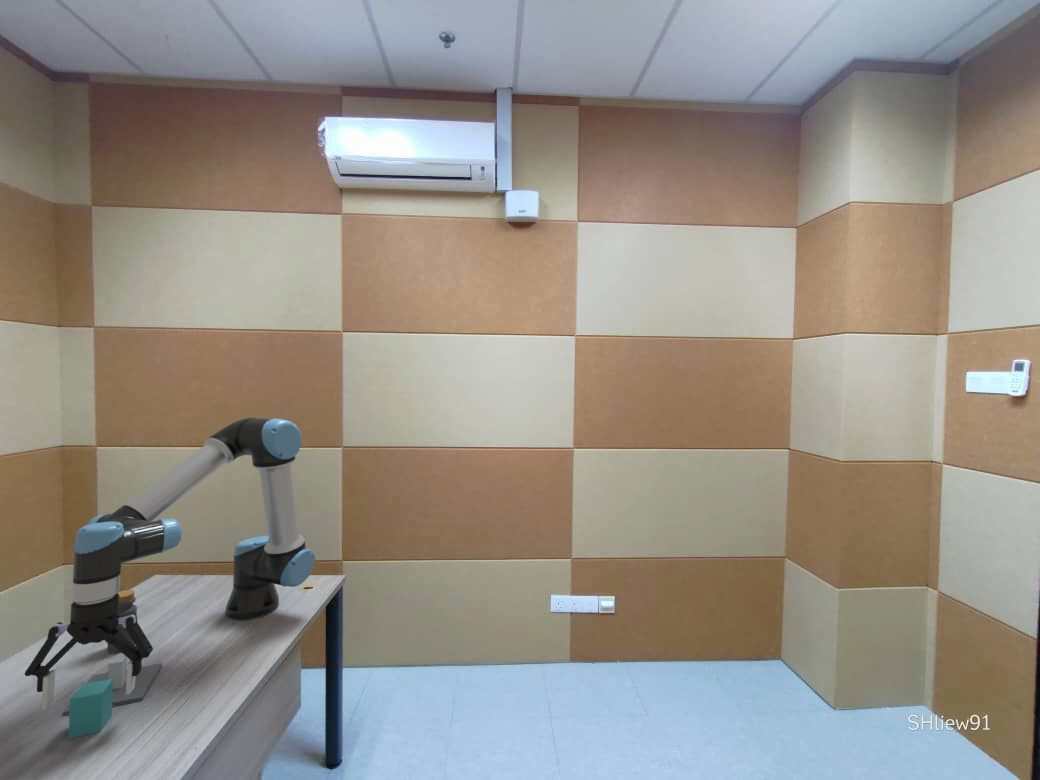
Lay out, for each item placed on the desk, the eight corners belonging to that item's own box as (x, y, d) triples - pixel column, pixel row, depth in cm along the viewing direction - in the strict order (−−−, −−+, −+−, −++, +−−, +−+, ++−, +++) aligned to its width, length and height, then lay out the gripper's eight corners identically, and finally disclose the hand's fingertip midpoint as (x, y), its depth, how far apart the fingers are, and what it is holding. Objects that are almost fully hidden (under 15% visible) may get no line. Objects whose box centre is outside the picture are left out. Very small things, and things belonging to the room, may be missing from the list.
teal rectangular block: (111, 715, 99) (113, 678, 99) (100, 731, 95) (102, 693, 95) (80, 721, 97) (82, 684, 97) (68, 738, 92) (70, 699, 93)
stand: (162, 666, 117) (163, 639, 117) (142, 700, 104) (143, 670, 104) (92, 678, 111) (94, 649, 112) (62, 715, 99) (63, 683, 99)
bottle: (118, 654, 121) (120, 599, 121) (101, 651, 122) (103, 596, 123) (140, 643, 127) (143, 590, 127) (124, 640, 128) (126, 587, 128)
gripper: (172, 583, 105) (167, 675, 104) (28, 598, 95) (21, 700, 94) (161, 596, 98) (156, 695, 97) (4, 614, 88) (-3, 724, 87)
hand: (90, 698), depth 96 cm, fingers open, 13 cm apart
